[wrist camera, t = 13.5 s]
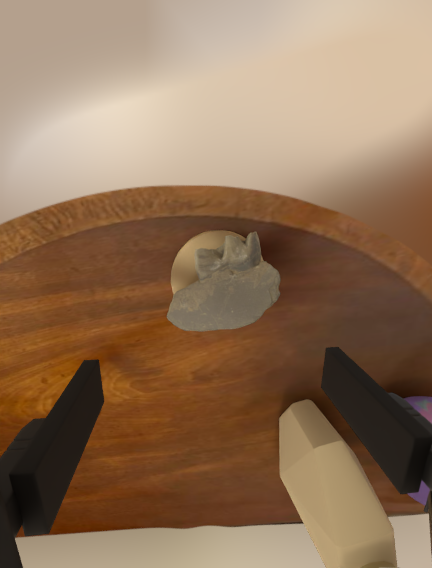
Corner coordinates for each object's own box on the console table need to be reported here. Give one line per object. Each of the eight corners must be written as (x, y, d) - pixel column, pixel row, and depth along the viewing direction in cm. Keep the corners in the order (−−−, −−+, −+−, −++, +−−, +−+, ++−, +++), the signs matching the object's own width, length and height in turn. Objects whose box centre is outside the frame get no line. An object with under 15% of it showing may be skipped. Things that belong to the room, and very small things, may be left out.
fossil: (256, 277, 41) (249, 217, 35) (296, 323, 33) (296, 257, 27) (166, 313, 39) (142, 256, 32) (186, 372, 31) (159, 311, 25)
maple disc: (169, 229, 36) (168, 230, 35) (265, 229, 37) (269, 230, 36) (173, 321, 39) (172, 325, 38) (261, 318, 41) (263, 322, 39)
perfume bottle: (282, 493, 51) (386, 816, 24) (254, 387, 44) (358, 671, 17) (344, 475, 51) (517, 774, 24) (326, 366, 44) (540, 614, 17)
